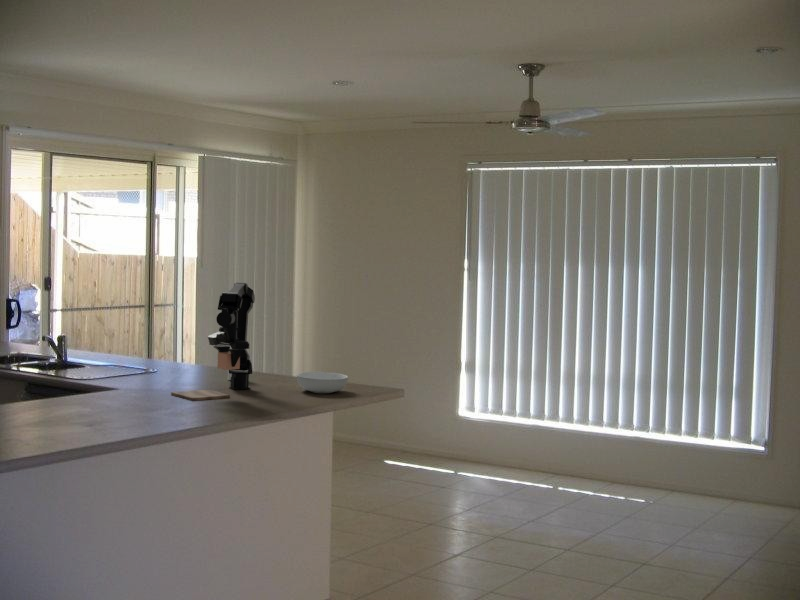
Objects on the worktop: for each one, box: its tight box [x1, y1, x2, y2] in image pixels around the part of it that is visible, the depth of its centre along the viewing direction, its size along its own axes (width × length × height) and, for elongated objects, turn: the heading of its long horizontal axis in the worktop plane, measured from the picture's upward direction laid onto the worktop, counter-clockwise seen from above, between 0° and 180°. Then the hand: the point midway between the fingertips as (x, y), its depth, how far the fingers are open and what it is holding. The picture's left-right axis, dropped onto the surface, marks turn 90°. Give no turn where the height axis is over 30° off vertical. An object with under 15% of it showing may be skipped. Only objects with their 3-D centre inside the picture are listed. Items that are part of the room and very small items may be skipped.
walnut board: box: [170, 389, 231, 402], centre depth 357 cm, size 16×16×1 cm
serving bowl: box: [296, 371, 349, 394], centre depth 381 cm, size 21×21×7 cm
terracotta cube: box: [216, 351, 240, 371], centre depth 357 cm, size 6×6×6 cm
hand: (228, 365), depth 357 cm, fingers closed on terracotta cube, 6 cm apart
